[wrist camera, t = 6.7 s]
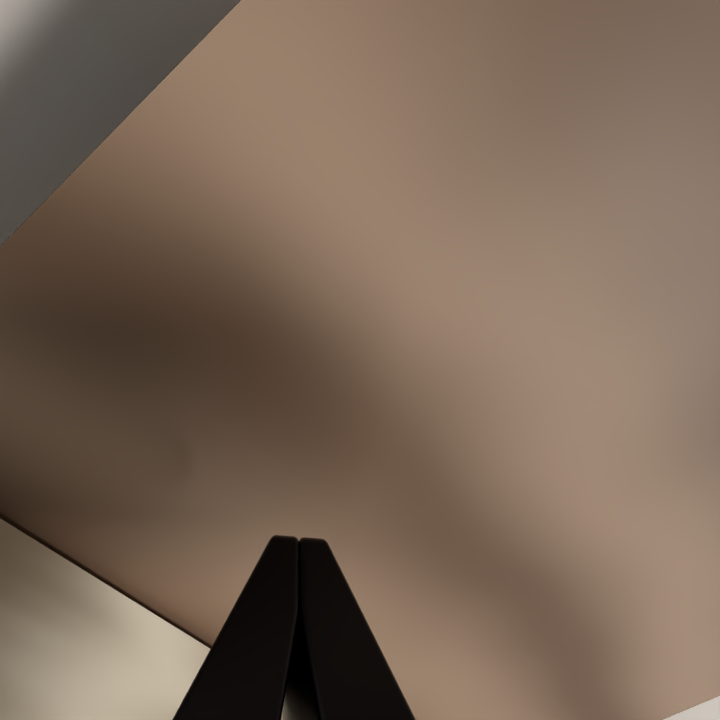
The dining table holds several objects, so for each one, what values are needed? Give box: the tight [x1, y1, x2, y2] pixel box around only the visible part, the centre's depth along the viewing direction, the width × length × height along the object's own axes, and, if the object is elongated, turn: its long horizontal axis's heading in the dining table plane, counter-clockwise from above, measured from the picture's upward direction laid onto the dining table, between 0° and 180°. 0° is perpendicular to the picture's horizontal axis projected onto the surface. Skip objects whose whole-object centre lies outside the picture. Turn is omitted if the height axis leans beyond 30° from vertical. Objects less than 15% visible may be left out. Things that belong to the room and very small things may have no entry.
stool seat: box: [0, 0, 720, 720], centre depth 12 cm, size 24×20×4 cm
